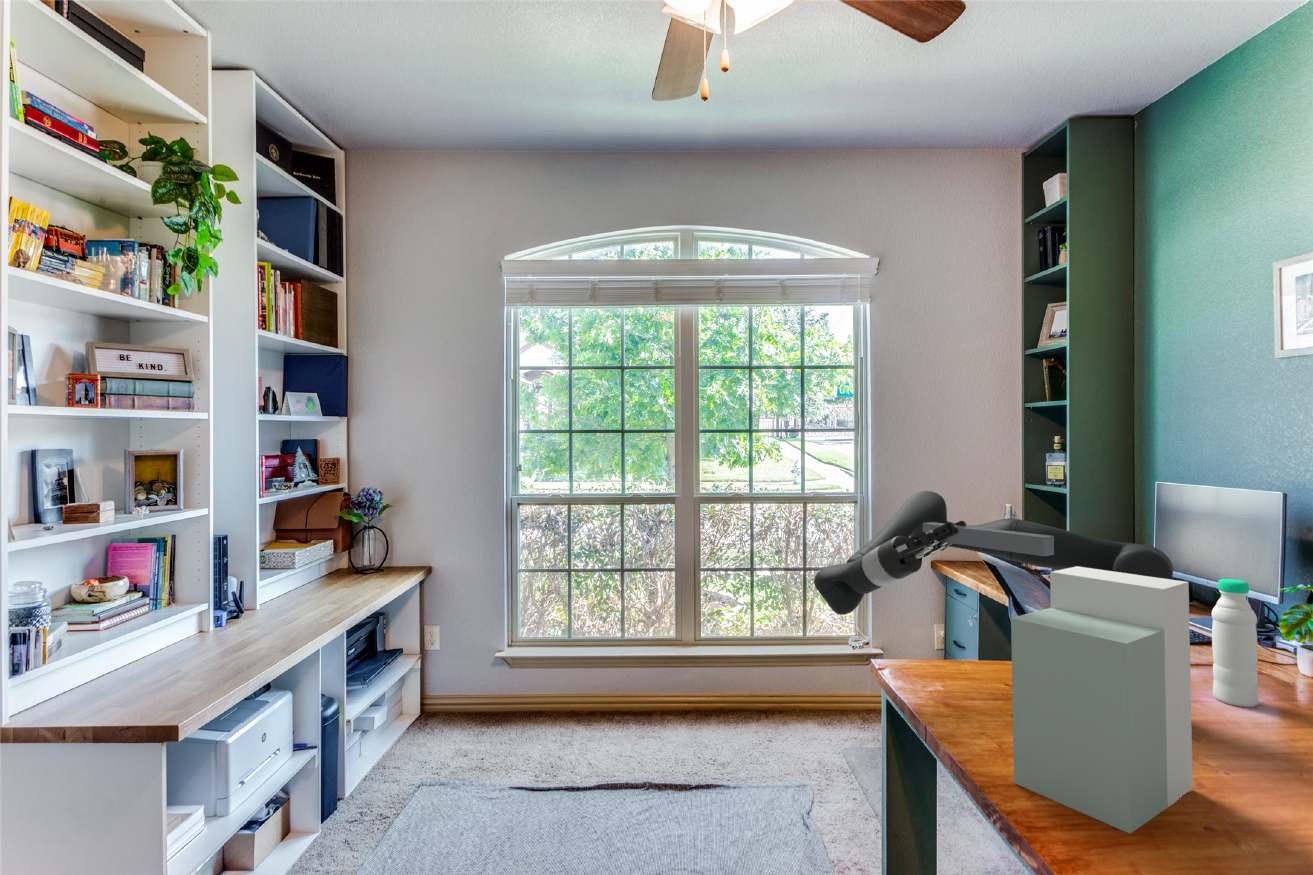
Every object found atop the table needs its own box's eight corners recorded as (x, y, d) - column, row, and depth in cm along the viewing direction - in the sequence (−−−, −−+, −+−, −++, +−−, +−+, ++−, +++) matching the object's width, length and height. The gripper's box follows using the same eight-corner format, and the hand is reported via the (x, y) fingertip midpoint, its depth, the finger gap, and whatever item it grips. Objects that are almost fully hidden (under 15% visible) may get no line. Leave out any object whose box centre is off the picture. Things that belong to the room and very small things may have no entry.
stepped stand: (1013, 782, 102) (1010, 580, 103) (1080, 749, 113) (1076, 566, 114) (1130, 833, 89) (1125, 599, 89) (1192, 789, 100) (1188, 581, 100)
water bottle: (1204, 695, 137) (1201, 577, 137) (1234, 694, 137) (1232, 576, 138) (1236, 708, 130) (1234, 584, 130) (1268, 707, 130) (1266, 583, 131)
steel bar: (922, 539, 121) (922, 523, 121) (932, 537, 123) (932, 522, 123) (1044, 556, 102) (1043, 537, 103) (1053, 554, 104) (1053, 535, 104)
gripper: (859, 547, 127) (925, 509, 114) (905, 541, 134) (972, 505, 122) (875, 583, 124) (945, 549, 111) (921, 575, 131) (992, 542, 119)
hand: (959, 526), depth 117 cm, fingers closed on steel bar, 3 cm apart
